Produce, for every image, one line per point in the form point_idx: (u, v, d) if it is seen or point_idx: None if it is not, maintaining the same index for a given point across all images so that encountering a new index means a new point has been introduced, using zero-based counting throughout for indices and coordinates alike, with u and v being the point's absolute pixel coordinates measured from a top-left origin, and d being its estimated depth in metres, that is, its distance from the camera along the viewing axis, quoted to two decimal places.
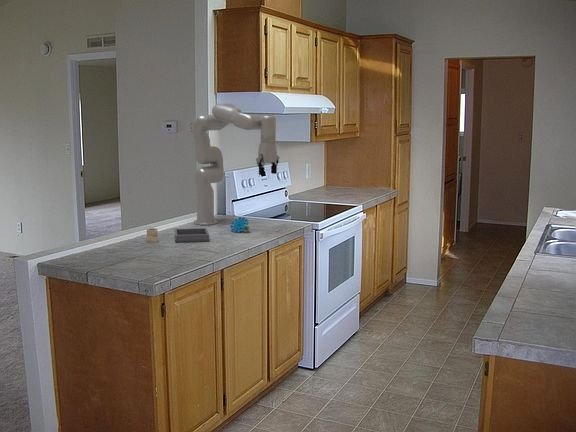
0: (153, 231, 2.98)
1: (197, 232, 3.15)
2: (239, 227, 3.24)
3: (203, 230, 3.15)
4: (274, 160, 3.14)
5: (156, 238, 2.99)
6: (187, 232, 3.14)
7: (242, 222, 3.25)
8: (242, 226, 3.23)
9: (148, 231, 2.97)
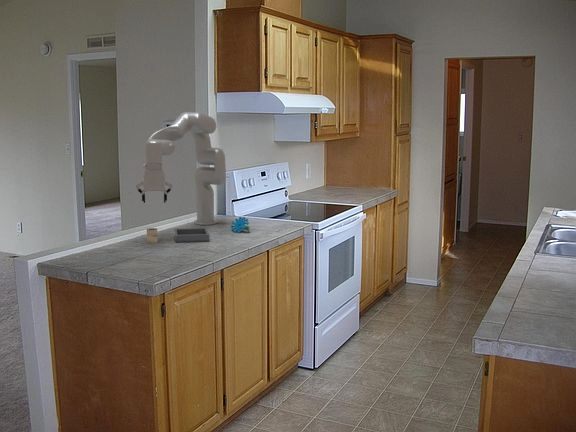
0: (153, 231, 2.98)
1: (197, 232, 3.15)
2: (239, 227, 3.24)
3: (203, 230, 3.15)
4: None
5: (156, 238, 2.99)
6: (187, 232, 3.14)
7: (242, 222, 3.25)
8: (242, 226, 3.23)
9: (148, 231, 2.97)
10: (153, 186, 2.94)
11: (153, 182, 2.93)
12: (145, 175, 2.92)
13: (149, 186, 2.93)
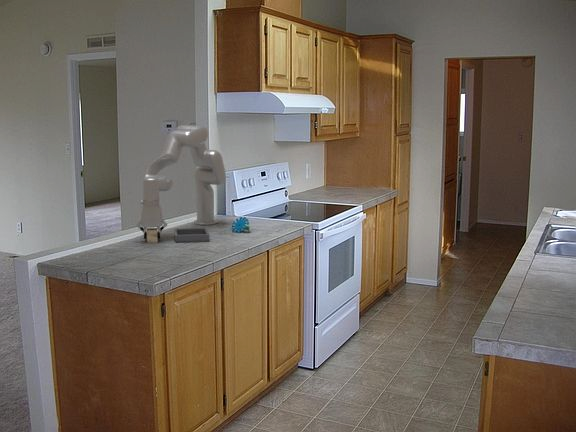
0: (153, 231, 2.98)
1: (197, 232, 3.15)
2: (240, 227, 3.24)
3: (203, 230, 3.15)
4: None
5: (156, 238, 2.99)
6: (187, 232, 3.14)
7: (243, 222, 3.25)
8: (243, 226, 3.24)
9: (148, 231, 2.97)
10: (150, 222, 2.96)
11: (151, 218, 2.96)
12: (143, 212, 2.95)
13: (147, 222, 2.96)
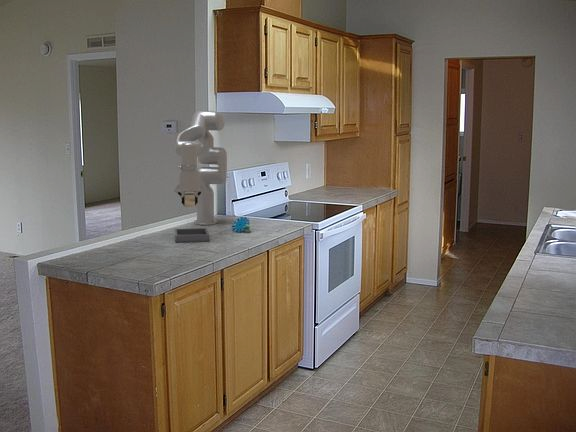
0: (191, 195, 3.01)
1: (197, 232, 3.15)
2: (240, 227, 3.24)
3: (203, 230, 3.15)
4: None
5: (194, 202, 3.02)
6: (187, 232, 3.14)
7: (243, 222, 3.25)
8: (243, 226, 3.24)
9: (186, 195, 3.01)
10: (188, 187, 3.00)
11: (189, 183, 3.00)
12: (181, 176, 2.99)
13: (185, 187, 3.00)
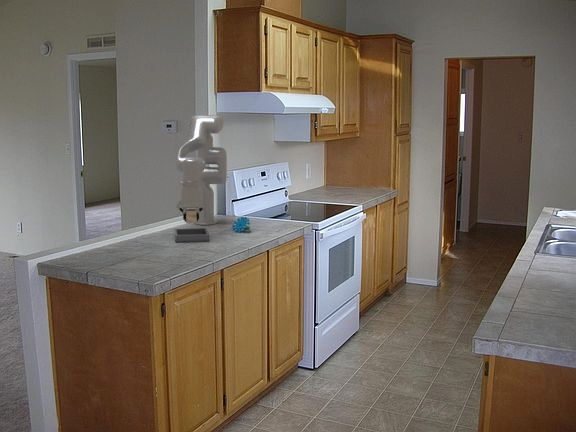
0: (192, 212, 3.03)
1: (197, 232, 3.15)
2: (240, 227, 3.24)
3: (203, 230, 3.15)
4: None
5: (195, 218, 3.04)
6: (187, 232, 3.14)
7: (244, 222, 3.25)
8: (243, 226, 3.24)
9: (187, 211, 3.02)
10: (190, 203, 3.01)
11: (190, 199, 3.01)
12: (182, 192, 3.00)
13: (186, 203, 3.01)
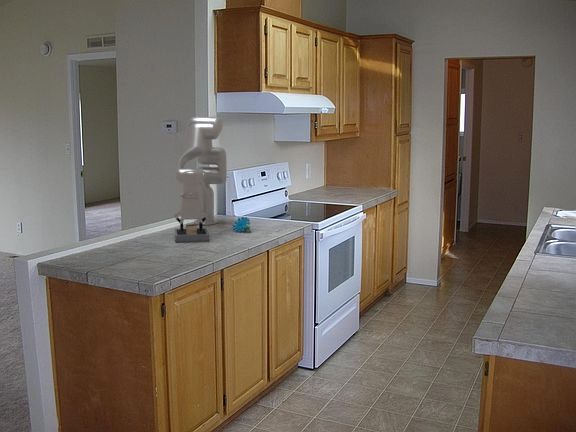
0: (192, 227, 3.04)
1: (197, 232, 3.15)
2: (240, 227, 3.24)
3: (203, 230, 3.15)
4: None
5: (195, 234, 3.05)
6: None
7: (244, 222, 3.26)
8: (243, 226, 3.24)
9: (188, 227, 3.04)
10: (190, 215, 3.03)
11: (191, 210, 3.02)
12: (183, 204, 3.01)
13: (186, 215, 3.02)
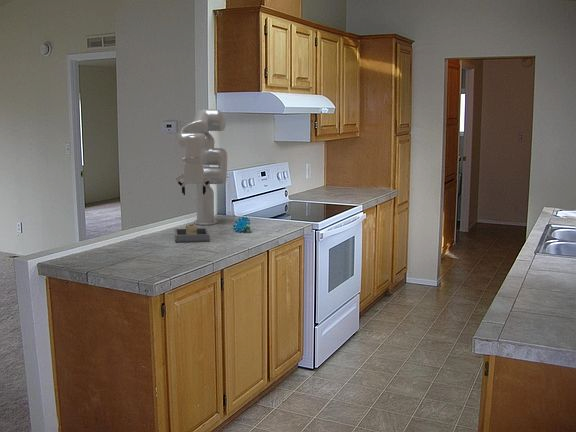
0: (192, 227, 3.04)
1: (197, 232, 3.15)
2: (241, 227, 3.25)
3: (203, 230, 3.15)
4: None
5: (195, 234, 3.05)
6: None
7: (244, 222, 3.26)
8: (243, 226, 3.24)
9: (188, 227, 3.04)
10: (192, 179, 3.05)
11: (193, 175, 3.04)
12: (185, 168, 3.03)
13: (189, 179, 3.04)
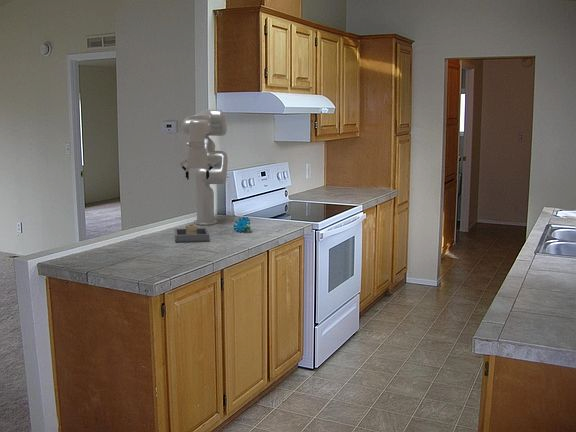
0: (192, 227, 3.04)
1: (197, 232, 3.15)
2: (241, 227, 3.25)
3: (203, 230, 3.15)
4: None
5: (195, 234, 3.05)
6: None
7: (244, 222, 3.26)
8: (244, 226, 3.24)
9: (188, 227, 3.04)
10: (196, 163, 3.10)
11: (197, 159, 3.09)
12: (189, 153, 3.08)
13: (193, 163, 3.09)
